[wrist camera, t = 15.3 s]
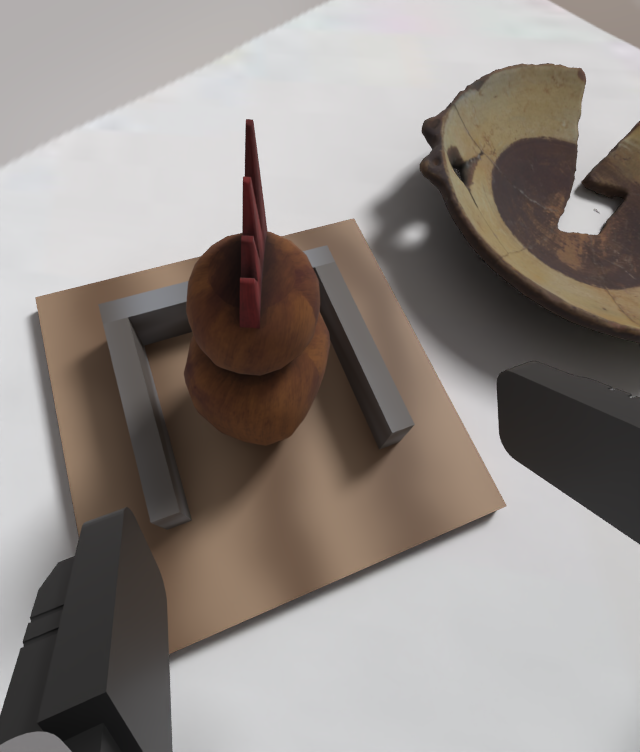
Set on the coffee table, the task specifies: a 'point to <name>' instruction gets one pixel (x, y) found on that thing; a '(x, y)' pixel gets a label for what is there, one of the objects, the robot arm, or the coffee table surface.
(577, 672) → the coffee table surface
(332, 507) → the keeper cradle
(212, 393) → the wooden figurine
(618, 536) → the coffee table surface
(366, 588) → the coffee table surface
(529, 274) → the oil lamp
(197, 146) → the coffee table surface
